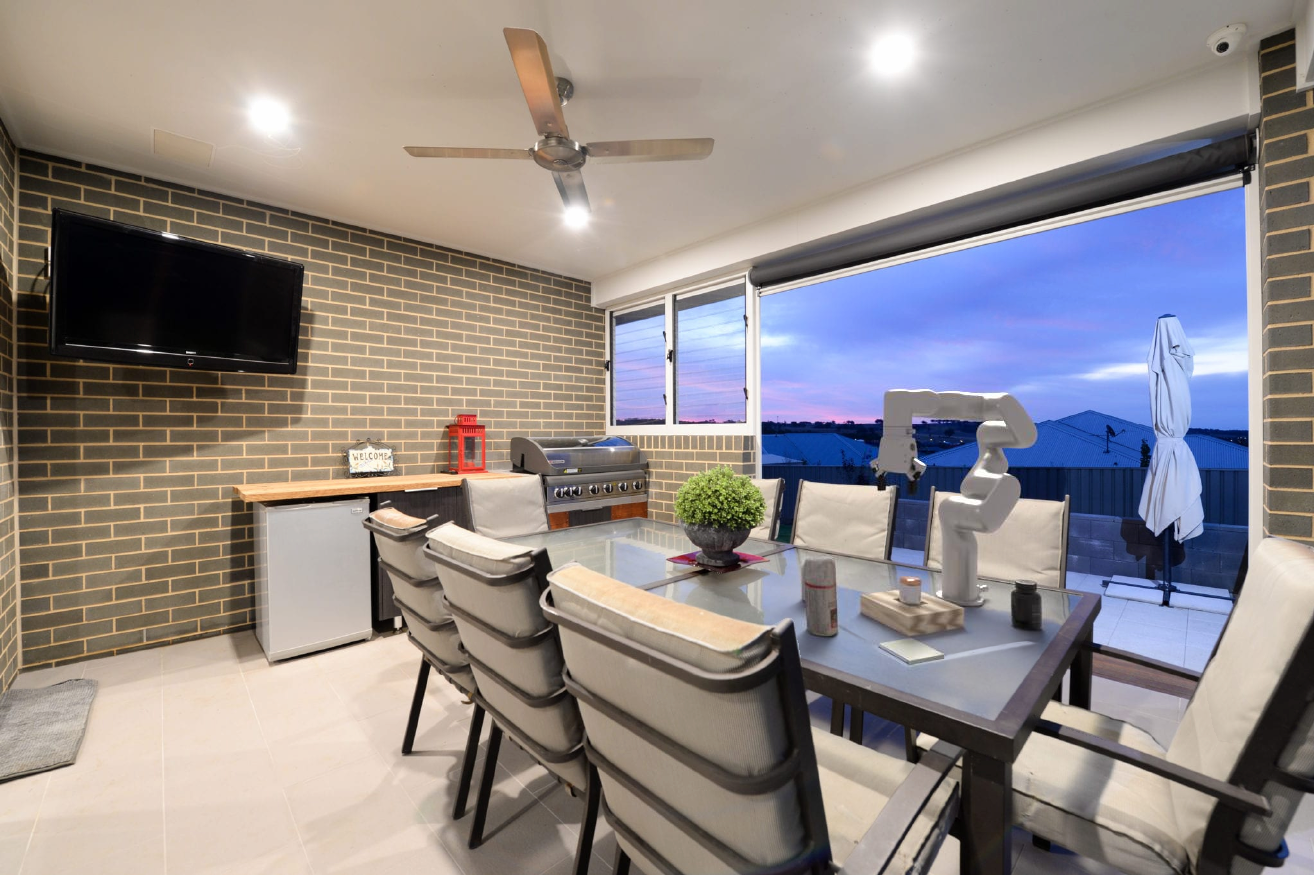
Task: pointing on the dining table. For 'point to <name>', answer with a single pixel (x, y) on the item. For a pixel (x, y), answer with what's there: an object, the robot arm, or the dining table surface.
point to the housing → (912, 613)
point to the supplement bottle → (1026, 606)
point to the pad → (912, 651)
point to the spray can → (821, 596)
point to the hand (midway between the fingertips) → (896, 492)
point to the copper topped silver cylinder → (910, 591)
